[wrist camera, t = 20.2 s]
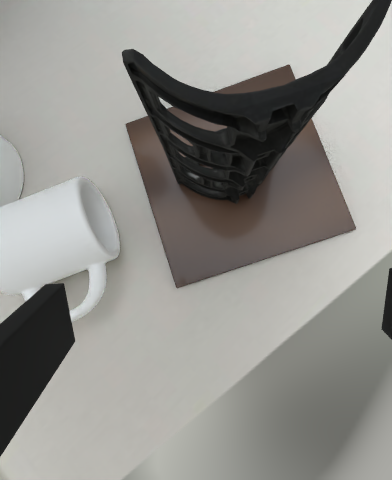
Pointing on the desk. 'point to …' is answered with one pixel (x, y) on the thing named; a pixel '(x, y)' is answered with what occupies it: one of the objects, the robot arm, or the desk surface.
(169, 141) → the holder
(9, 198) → the cup
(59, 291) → the robot arm
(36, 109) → the desk surface
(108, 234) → the mug
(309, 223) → the board
